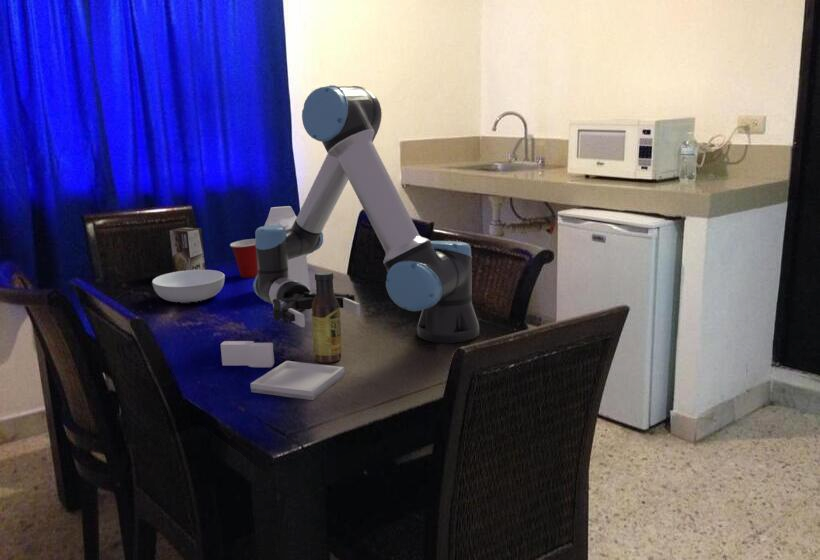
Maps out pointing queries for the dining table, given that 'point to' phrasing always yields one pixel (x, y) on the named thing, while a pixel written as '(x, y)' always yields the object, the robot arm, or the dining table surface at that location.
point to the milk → (287, 219)
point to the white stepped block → (247, 353)
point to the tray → (298, 380)
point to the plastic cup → (246, 257)
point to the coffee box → (187, 249)
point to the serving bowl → (189, 285)
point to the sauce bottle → (326, 320)
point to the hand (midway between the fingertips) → (331, 315)
